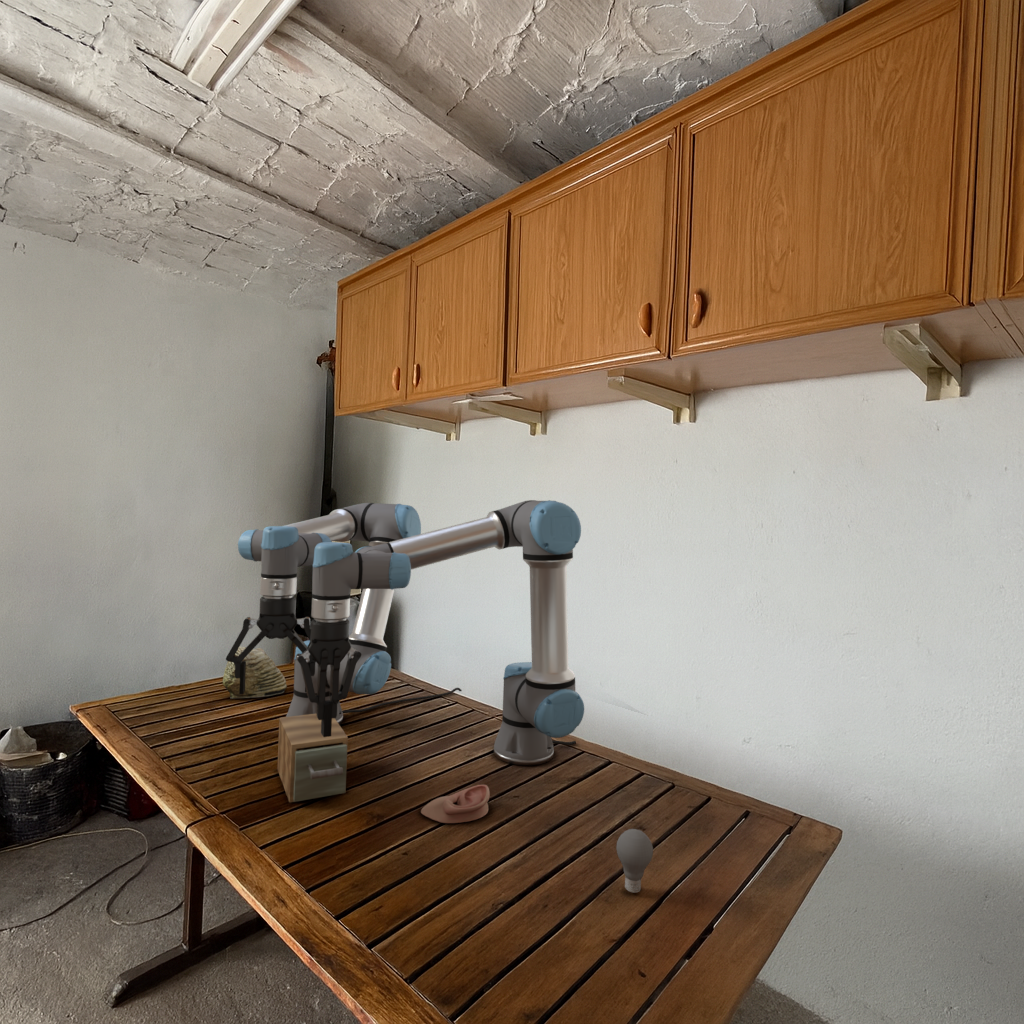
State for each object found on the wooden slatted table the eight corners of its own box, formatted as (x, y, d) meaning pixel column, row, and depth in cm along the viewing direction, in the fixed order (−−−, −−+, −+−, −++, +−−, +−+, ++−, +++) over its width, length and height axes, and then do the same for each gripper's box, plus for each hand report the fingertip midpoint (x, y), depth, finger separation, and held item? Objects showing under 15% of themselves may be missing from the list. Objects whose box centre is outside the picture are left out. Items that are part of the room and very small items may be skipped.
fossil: (218, 695, 195) (220, 647, 195) (278, 685, 208) (279, 640, 207) (228, 703, 189) (230, 653, 188) (289, 692, 201) (290, 645, 201)
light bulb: (610, 879, 108) (613, 822, 108) (644, 879, 109) (647, 822, 109) (619, 902, 102) (622, 840, 102) (655, 901, 103) (658, 840, 103)
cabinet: (345, 792, 136) (347, 737, 136) (289, 802, 131) (291, 744, 130) (328, 761, 151) (330, 711, 151) (277, 769, 146) (279, 717, 146)
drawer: (352, 804, 129) (353, 755, 129) (299, 814, 124) (301, 764, 124) (329, 763, 148) (330, 721, 148) (282, 771, 143) (284, 727, 143)
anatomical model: (416, 799, 126) (434, 775, 137) (415, 819, 126) (433, 793, 137) (480, 808, 123) (494, 783, 134) (479, 829, 123) (493, 802, 134)
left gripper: (213, 598, 133) (210, 698, 134) (336, 598, 139) (332, 694, 140) (220, 593, 141) (217, 688, 141) (337, 593, 147) (333, 684, 147)
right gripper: (300, 624, 122) (295, 745, 122) (367, 620, 128) (362, 736, 128) (293, 616, 128) (289, 732, 129) (357, 613, 135) (353, 724, 135)
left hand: (275, 691), depth 140 cm, fingers open, 13 cm apart
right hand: (326, 734), depth 129 cm, fingers closed
